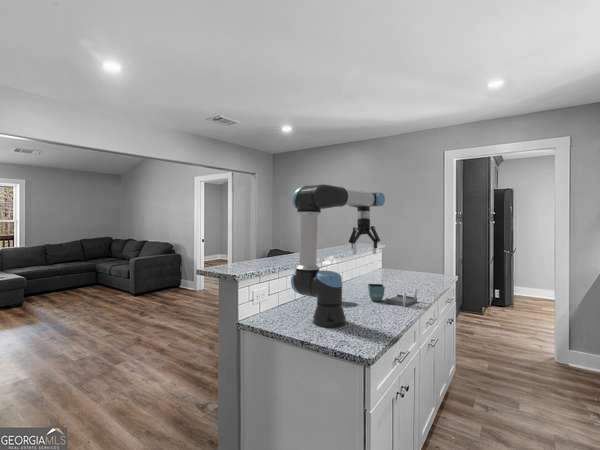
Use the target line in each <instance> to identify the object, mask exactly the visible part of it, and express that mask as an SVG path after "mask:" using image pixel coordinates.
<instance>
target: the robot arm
mask: <svg viewBox="0 0 600 450" xmlns="http://www.w3.org/2000/svg"><path fill="white" fill-rule="evenodd" d="M385 202H386V196H385V194H384V193H383V192H379V191H378V192H377V191H376V192H371V191H362V190H361V191H360V190H350V189H346V188H345V187H343V186H337V185H331V184H315V185H314V184H311V185H304V186H300V187H297V188H296V190H295V191H294V193H293V195H292V204H293V205H294V206H293V207H294V208H295V209H296V210H297V211H296V213H297V214H298V216H299V217H300V218H299V222H300V223H299V253H298V254H299V256H298V258H299V259H298V260H299V261H298V265H297V266H296V267H295V271H293V272H292V275H291V276H290V286H291V288H292V290H293V291H294V292H295V293H297V294H299V295H301V296H308V297H313V298H316V307H315V311H314V314H313V316H312V317H313V321H312V323H313V324H314V325H316V326H319V327H322V328H338V327H343V326H344V325H346V323H347V318H346V315H345V312H344V308H343V279H342V275H341V274H340V273H338V272H336V271H332V270H320V267H319V266H318V264H317V254H318V253H317V250H318V248H317V247H318V217H319V215H321V214H322V213H321V210H324V209H330V208H331V209H332V208H338V207H339V208H340V207H341V208H342V207H344V206H349V207H351V208H356V209H357V210H356V211H357V213H356V216H357V221H356V223H357V227H355V226H354V227H353V228H352V232H351V235H350V237H349V239H348V243H350V244H351V249H352V255H357V243H356V242H357V241H358V240H359V239H360V237H361V235H368V237H369V238H370V239H371V241H372V245H371V246H372V249H371V250H372V255H377V248H378V243H379V242H381V239H380V236H379V235H378V232H377V230H376V226H374V225H371V219H370V218H371V207H382V206H383V205H384V204H385Z"/></svg>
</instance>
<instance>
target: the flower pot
mask: <svg viewBox="0 0 600 450" xmlns="http://www.w3.org/2000/svg"><path fill="white" fill-rule="evenodd" d="M385 288H386V287H385V285H384V284H383V283H368V284H367V291H368V296H369V297H370V300H371V301H372V302H382V300H383V298H384V295H385Z"/></svg>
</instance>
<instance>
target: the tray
mask: <svg viewBox="0 0 600 450" xmlns="http://www.w3.org/2000/svg"><path fill="white" fill-rule="evenodd" d="M385 303H386V304H390V305H394V306H400V307H409V306H410V305H411V306H412V305H413V304H416V303H418V289H417V288H413V296H409V295H407V292H403V293H402V294H399V293H398V294H396V296H394V297H391V298H389V297H386V298H385Z"/></svg>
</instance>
